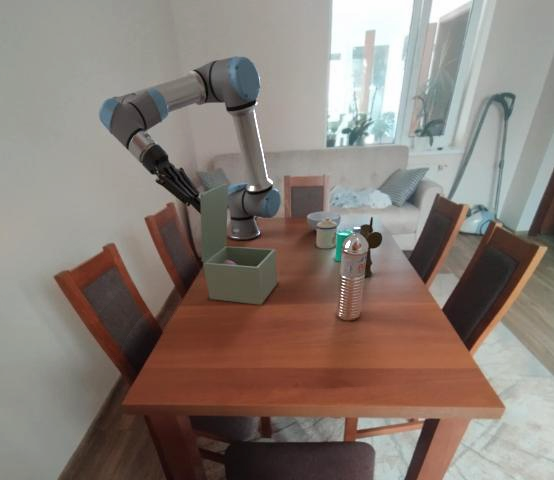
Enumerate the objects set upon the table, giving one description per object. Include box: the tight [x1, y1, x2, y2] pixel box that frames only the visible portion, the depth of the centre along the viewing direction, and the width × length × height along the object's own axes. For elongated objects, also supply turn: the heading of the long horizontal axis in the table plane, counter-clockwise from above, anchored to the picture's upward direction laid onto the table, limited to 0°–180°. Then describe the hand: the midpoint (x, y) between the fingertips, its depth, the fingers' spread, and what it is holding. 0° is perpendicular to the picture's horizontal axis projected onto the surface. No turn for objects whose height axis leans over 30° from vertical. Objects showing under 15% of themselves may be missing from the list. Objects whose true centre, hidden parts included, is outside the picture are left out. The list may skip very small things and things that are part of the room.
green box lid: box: [199, 182, 229, 263], centre depth 102 cm, size 20×17×1 cm
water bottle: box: [336, 226, 369, 322], centre depth 90 cm, size 7×7×25 cm
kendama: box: [359, 216, 383, 278], centre depth 114 cm, size 6×10×20 cm, turn 10°
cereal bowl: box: [306, 210, 342, 232], centre depth 164 cm, size 17×17×7 cm
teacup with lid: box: [315, 218, 338, 250], centre depth 145 cm, size 12×9×12 cm
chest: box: [202, 245, 278, 306], centre depth 111 cm, size 19×17×12 cm
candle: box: [334, 229, 353, 263], centre depth 130 cm, size 6×6×12 cm
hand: (210, 217), depth 102 cm, fingers closed
